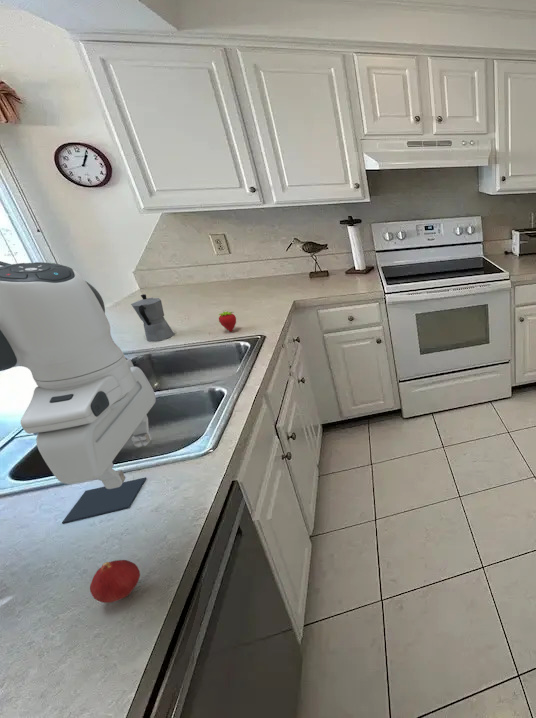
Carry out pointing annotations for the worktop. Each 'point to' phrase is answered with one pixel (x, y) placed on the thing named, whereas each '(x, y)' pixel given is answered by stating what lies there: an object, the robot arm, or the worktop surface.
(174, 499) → the worktop surface
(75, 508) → the pad
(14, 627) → the worktop surface
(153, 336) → the coffeepot
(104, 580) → the red oval piece
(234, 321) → the strawberry
